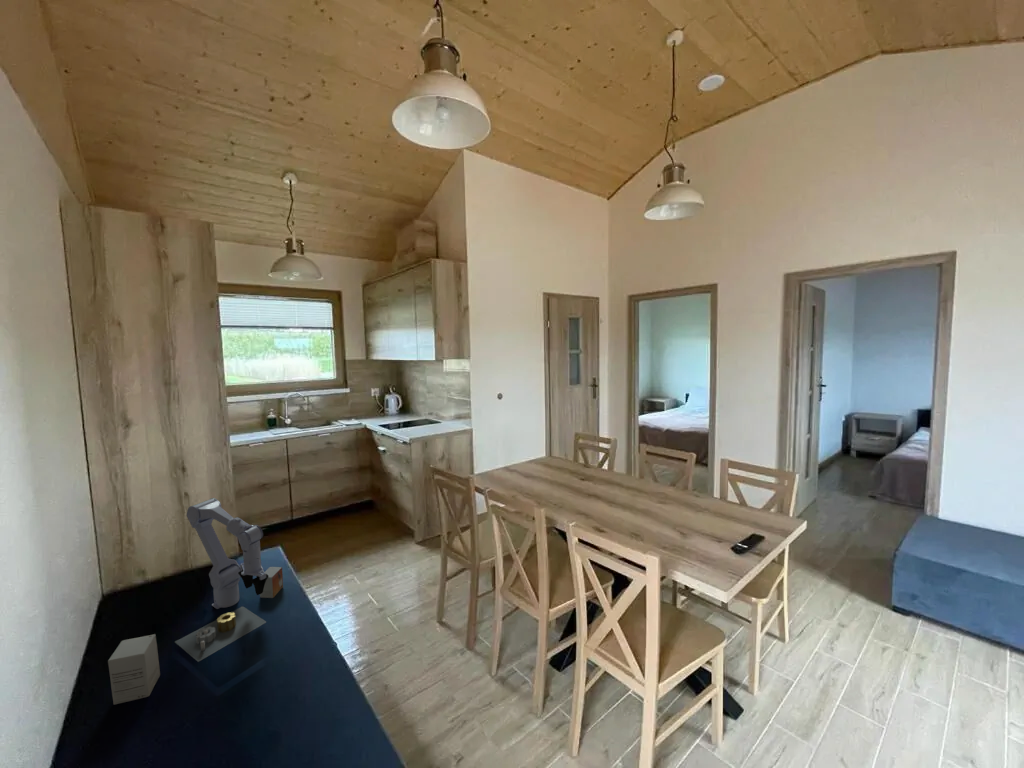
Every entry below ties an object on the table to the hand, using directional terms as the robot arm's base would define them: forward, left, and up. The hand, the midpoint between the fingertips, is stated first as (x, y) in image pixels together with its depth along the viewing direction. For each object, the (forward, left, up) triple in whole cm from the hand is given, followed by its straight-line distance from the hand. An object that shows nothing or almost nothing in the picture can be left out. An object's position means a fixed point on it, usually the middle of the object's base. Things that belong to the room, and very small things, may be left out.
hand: (254, 590), depth 168 cm
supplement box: (+5, -39, -10) cm, 41 cm away
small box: (-6, +10, -10) cm, 15 cm away
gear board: (+2, -13, -10) cm, 16 cm away
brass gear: (+1, -11, -8) cm, 14 cm away
